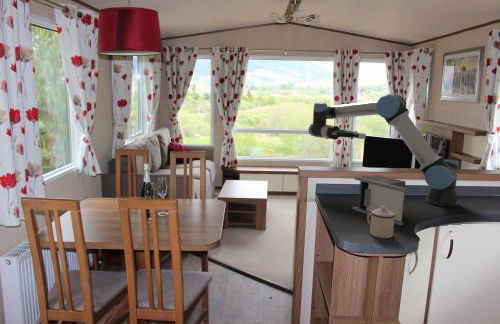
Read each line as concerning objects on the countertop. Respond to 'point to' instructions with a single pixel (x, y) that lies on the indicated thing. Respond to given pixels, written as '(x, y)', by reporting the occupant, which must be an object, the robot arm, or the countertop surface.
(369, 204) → the side door
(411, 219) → the countertop surface
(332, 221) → the countertop surface
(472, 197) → the countertop surface
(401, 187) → the small gray cabinet
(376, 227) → the teacup with lid
